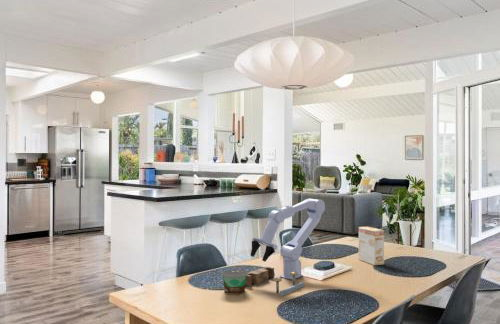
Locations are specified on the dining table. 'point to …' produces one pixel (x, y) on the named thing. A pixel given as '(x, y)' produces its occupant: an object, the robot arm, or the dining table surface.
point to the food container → (234, 281)
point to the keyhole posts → (281, 280)
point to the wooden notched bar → (259, 276)
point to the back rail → (291, 288)
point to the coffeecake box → (371, 245)
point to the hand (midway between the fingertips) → (257, 258)
